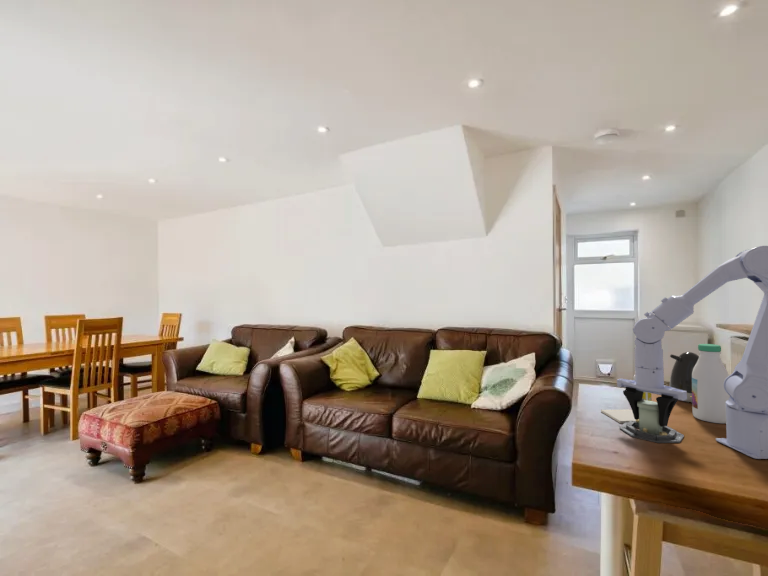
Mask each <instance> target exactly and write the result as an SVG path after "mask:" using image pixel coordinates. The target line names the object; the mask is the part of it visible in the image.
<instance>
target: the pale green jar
mask: <svg viewBox="0 0 768 576" xmlns="http://www.w3.org/2000/svg"><path fill="white" fill-rule="evenodd" d="M637 406H638V407H639V427H638V428H639V429H638V430H640V431H644V432H649V433H653V434H659V432H663V431H662V427H661V426H660V424H659V409H658V404H657V401H653V400H652V401H647V400H640V401H637Z"/></svg>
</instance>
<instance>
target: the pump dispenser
mask: <svg viewBox="0 0 768 576" xmlns="http://www.w3.org/2000/svg"><path fill="white" fill-rule="evenodd" d="M669 358H670V359H673V360H674V361H675V362H674V364H673V367H672V369H671V372H670V378H669V387H672V388H676V389H680V390H684V391H687V399H686V400H683V401H682V402H685V403H689V402H691V403H690V404H692V397H690V396H692V372H693V368H694V366H695V365H696V363H697V361H698V359H699V355H698V354H697V353H694V352H691V351H686V352H683V353H681V354H679V355H675V354H670V355H669Z"/></svg>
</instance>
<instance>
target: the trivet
mask: <svg viewBox="0 0 768 576" xmlns="http://www.w3.org/2000/svg"><path fill="white" fill-rule="evenodd" d="M600 412H601V413H602V414H603V415H606V416H607V417H609V418H610V419H612V420H614V421H616V422H618V423H619V424H624V423H625V422H630V421H636V419H634V415H633V412H632V409H631V408H630V409H601V410H600Z"/></svg>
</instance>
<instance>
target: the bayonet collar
mask: <svg viewBox="0 0 768 576" xmlns="http://www.w3.org/2000/svg"><path fill="white" fill-rule="evenodd" d="M637 428H639V419H638V420H636V421H630V422H625V423H622V425H621V426H620V427H619V430H620V431H622V432H624V433H625V434H627V435H628V436H630V437H632V438H635V439H640V440H644V441H647V442H652V443H657V444H674V443H675V444H676V443H678V444H680V443H682V441H683V438H684V436H685V435H684V434H683V433H681V432H679V431H678V430H676V429H674V428H672V427H669V426H668V425H667V426H665V427H662V432H659V434H653V433H649V432H644V431H640V430H639V429H637Z"/></svg>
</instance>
